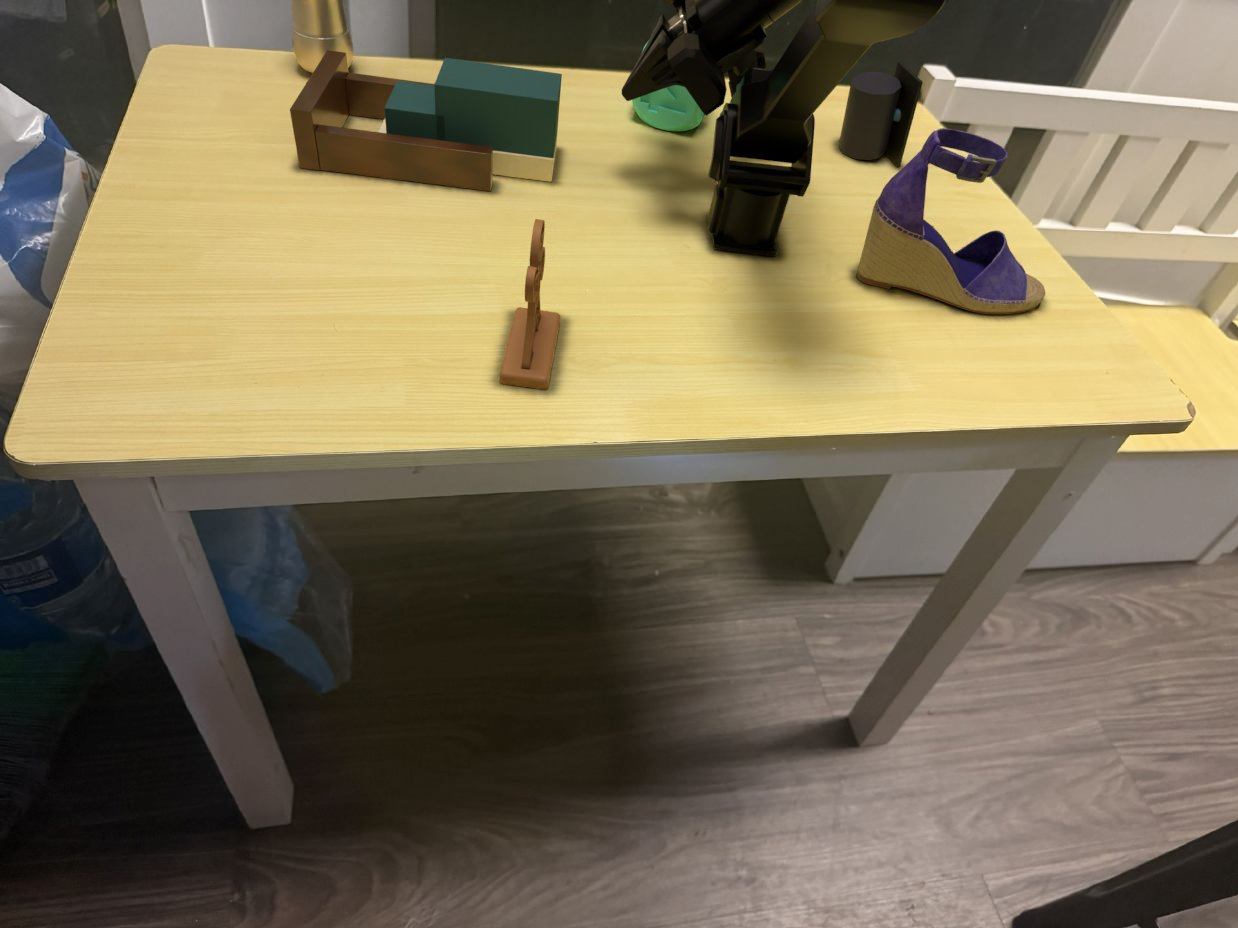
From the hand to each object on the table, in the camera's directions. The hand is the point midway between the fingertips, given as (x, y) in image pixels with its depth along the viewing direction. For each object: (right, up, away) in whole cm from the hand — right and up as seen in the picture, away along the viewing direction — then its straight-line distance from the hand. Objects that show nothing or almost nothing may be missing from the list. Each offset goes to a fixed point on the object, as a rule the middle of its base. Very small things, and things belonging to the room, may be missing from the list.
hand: (624, 96), depth 83 cm
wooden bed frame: (-22, -3, +4) cm, 23 cm away
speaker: (+29, +1, +17) cm, 34 cm away
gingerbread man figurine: (-8, -28, -15) cm, 33 cm away
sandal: (+32, -19, 0) cm, 38 cm away
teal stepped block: (-17, -4, +5) cm, 18 cm away
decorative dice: (+5, +5, +17) cm, 19 cm away
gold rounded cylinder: (-35, +9, +14) cm, 39 cm away
